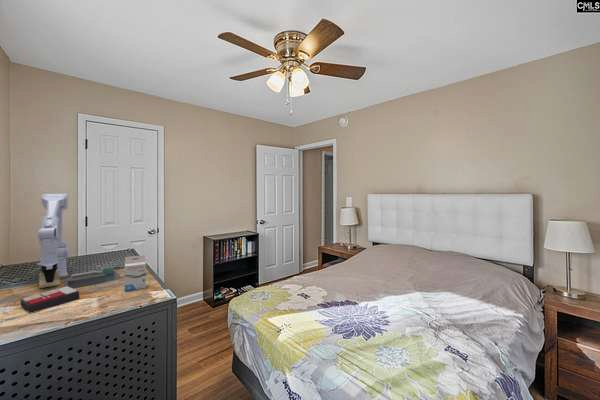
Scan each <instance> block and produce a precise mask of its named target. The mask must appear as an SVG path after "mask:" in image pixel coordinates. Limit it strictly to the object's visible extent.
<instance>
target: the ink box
mask: <svg viewBox="0 0 600 400" xmlns="http://www.w3.org/2000/svg"><path fill="white" fill-rule="evenodd" d="M141 288H142V289H146V288H147V262H146V255H144V254H141V255H135V256H133V255H132V256H126V257H124V292H129V291H136V290H142V289H141Z"/></svg>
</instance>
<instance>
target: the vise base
mask: <svg viewBox="0 0 600 400" xmlns="http://www.w3.org/2000/svg"><path fill="white" fill-rule="evenodd" d="M85 272H86V271H85ZM85 272H84V271H83V272H82V273H85ZM118 280H123V278H122V277H121V275H120V274H119V273H118V271H116V270H114V274H109V275H105V274H98V275H92V276H86V277H81V278H75V279H72V277H71V278H66V279H63V285H64V286H63V287H66V286H68V287H70V288H73V289H76V288H81V287H86V286H87V287H88V286H92V285H96V284H98V285H99V284H102V283H103V284H104V283H107V282H113V281H118Z"/></svg>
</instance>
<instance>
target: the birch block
mask: <svg viewBox="0 0 600 400" xmlns="http://www.w3.org/2000/svg"><path fill="white" fill-rule="evenodd" d="M38 280H39V281H38V282H39V283H38V284H39V289H42V288H47V287H55V286H60V285H61V276H60V270H58V271H56V272H55V275H54V280H53V282H50V283H47V282H46V279H45V276H44V274H43V272H40V273H38Z"/></svg>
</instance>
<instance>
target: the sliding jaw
mask: <svg viewBox="0 0 600 400" xmlns="http://www.w3.org/2000/svg"><path fill="white" fill-rule="evenodd" d="M114 271H115V266H114V265H109V266H103V267H101V270H98V271H97V270H91V271H85V273H83V272H79V273H73V274H71V278H72V279H75V278H81V277H86V276H92V275H98V274H105V275H109V274H114Z"/></svg>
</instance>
